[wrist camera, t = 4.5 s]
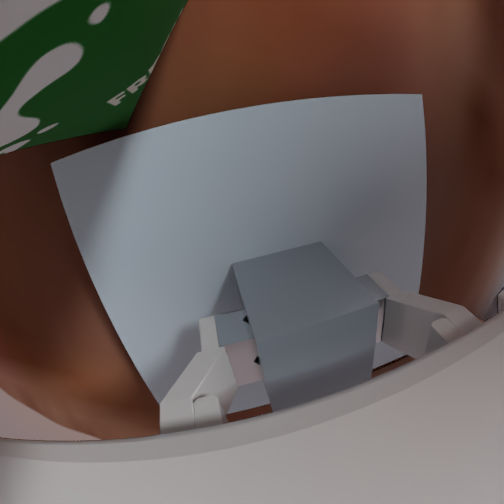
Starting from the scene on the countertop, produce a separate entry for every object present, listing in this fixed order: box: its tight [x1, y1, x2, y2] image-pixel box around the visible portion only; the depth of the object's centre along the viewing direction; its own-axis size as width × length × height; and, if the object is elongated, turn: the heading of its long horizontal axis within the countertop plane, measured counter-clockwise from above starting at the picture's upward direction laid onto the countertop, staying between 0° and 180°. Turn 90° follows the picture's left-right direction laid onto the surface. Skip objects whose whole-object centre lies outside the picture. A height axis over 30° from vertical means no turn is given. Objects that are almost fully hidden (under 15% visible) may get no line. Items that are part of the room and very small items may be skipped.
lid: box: [51, 94, 427, 414], centre depth 10 cm, size 13×13×5 cm
